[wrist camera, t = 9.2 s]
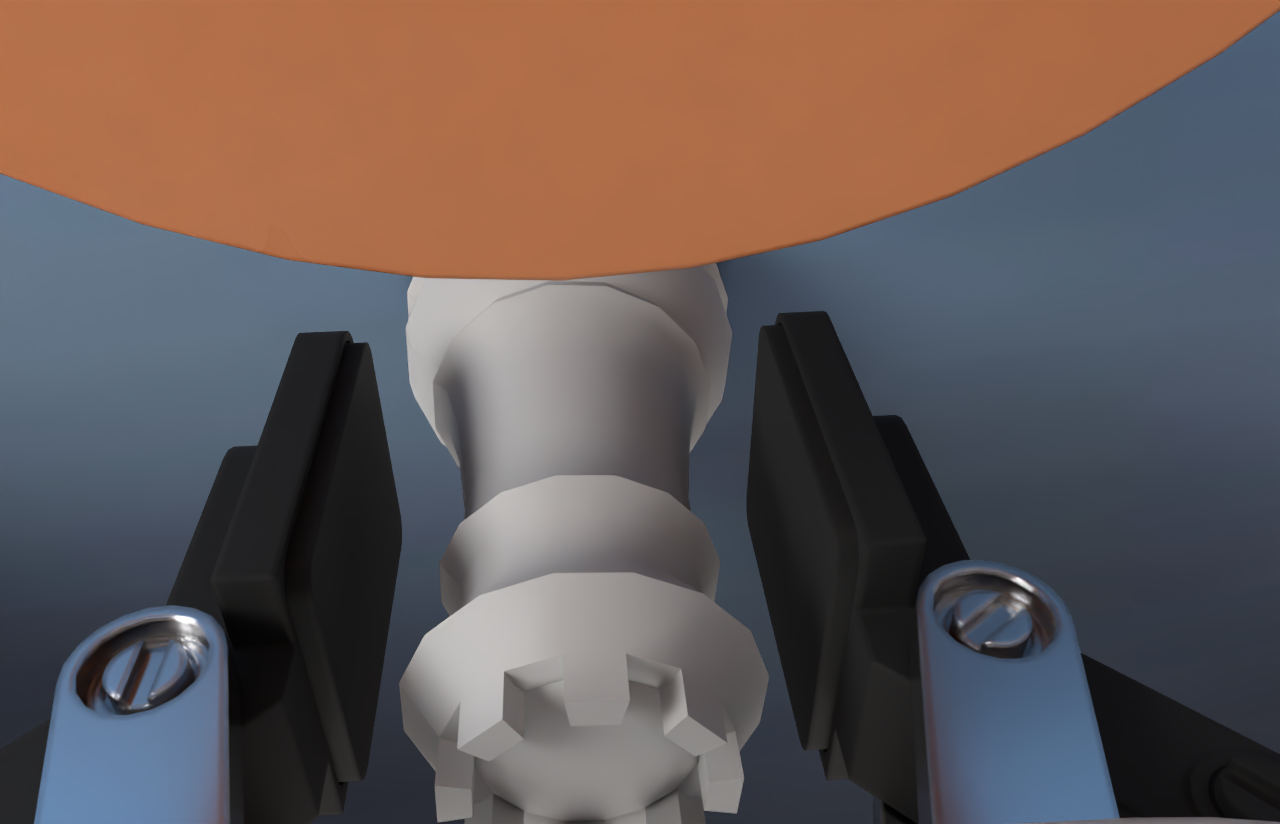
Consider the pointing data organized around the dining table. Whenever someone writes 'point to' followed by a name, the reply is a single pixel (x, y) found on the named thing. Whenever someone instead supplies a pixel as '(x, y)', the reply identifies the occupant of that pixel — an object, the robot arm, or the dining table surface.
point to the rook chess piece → (578, 554)
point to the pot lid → (563, 117)
